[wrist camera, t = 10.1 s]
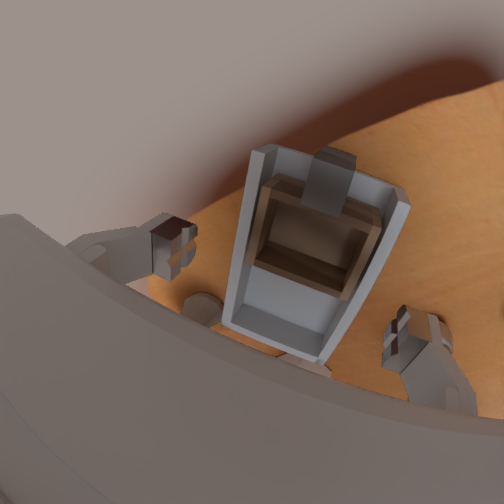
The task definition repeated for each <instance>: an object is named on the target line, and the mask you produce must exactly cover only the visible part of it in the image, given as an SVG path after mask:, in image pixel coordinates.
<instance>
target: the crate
mask: <svg viewBox="0 0 504 504" xmlns="http://www.w3.org/2000/svg"><path fill="white" fill-rule="evenodd" d="M355 165H356V156H354V155H351V154H349V153H346V152H343V151H340V150H337V149H334V148H331V147H328V146H325V147H324V148H322V149H321V150H320V151H319V152H318V153H317V154H316V155H315V156H314V157H313V159H312V162H311V166H310V170H309V174H308V177H307V181H306V182H305V181H302V180H299V179H296V178H293V177H290V176H287V175H284V174H280V173H278V174H276V175H275V176H274V177H272V178H271V179H270V180H269V181H267V182H266V183H265V184H264V185H262V188H261V192H260V197H259V202H258V206H257V211H256V216H255V221H254V225H253V230H252V235H251V239H250V244H249V249H248V254H247V258H246V263H248V264H250V265H253V266H255V267H258V268H260V269H263V270H266V271H268V272H271V273H273V274H276V275H278V276H281V277H284V278H286V279H289V280H291V281H294V282H296V283H299V284H302V285H304V286H307V287H309V288H312V289H315V290H317V291H320V292H323V293H325V294H328V295H330V296H333V297H336V298H338V299H341V300H344V301H346V302H347V300H348V298H349V296H350V294H351V293H352V291H353V289H354V287H355V285H356V283H357V281H358V279H359V277H360V275H361V273H362V271H363V269H364V267H365V265H366V263H367V261H368V258H369V256H370V254H371V252H372V250H373V248H374V246H375V243H376V241H377V239H378V237H379V234H380V232H381V230H382V225H381V217H380V210H379V209H378V208H376V207H374V206H371V205H368V204H366V203H363V202H361V201H358V200H356V199H353V198H350V197H348V196H347V194H348V191H349V188H350V185H351V182H352V179H353V176H354V173H355Z"/></svg>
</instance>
